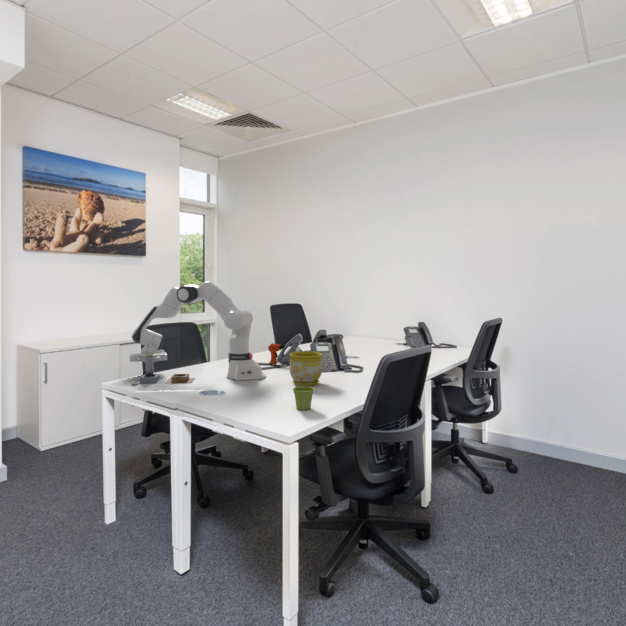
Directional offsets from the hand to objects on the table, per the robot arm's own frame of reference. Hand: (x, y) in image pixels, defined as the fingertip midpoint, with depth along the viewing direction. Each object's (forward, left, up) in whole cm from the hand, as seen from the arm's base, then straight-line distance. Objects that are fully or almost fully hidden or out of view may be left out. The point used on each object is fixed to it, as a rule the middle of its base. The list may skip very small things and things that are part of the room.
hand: (148, 359), depth 243 cm
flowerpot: (-87, +18, -11) cm, 90 cm away
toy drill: (-75, -37, -11) cm, 84 cm away
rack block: (-3, +10, -11) cm, 15 cm away
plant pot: (-81, +66, -11) cm, 105 cm away
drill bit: (-3, +10, -10) cm, 15 cm away
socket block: (-19, +10, -11) cm, 24 cm away
